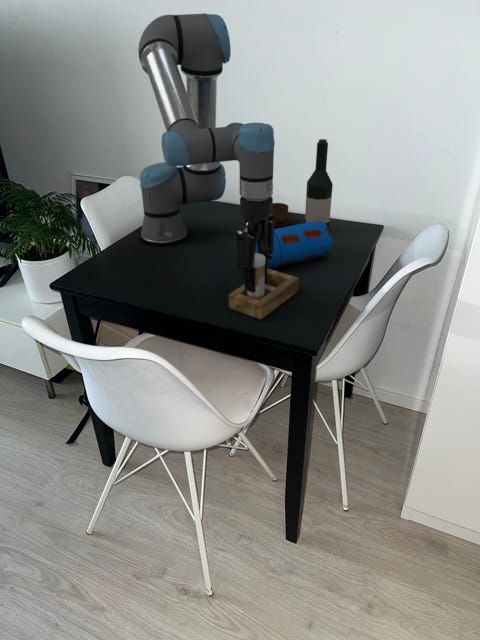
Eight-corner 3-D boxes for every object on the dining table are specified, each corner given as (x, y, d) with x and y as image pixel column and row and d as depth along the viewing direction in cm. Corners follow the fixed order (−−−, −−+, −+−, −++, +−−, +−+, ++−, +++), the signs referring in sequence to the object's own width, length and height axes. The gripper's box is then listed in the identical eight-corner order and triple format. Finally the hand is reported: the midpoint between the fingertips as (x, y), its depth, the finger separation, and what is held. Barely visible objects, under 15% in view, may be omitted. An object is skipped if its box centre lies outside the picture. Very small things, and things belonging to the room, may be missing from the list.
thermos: (336, 245, 148) (260, 262, 139) (321, 261, 157) (249, 278, 148) (322, 213, 150) (246, 228, 141) (308, 231, 160) (236, 246, 151)
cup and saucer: (262, 216, 184) (262, 200, 181) (295, 217, 183) (295, 201, 180) (258, 229, 174) (258, 211, 171) (293, 230, 173) (294, 213, 170)
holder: (228, 308, 130) (228, 294, 128) (267, 281, 142) (267, 268, 140) (261, 320, 125) (261, 306, 123) (298, 290, 137) (299, 277, 135)
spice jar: (243, 304, 130) (242, 257, 123) (254, 297, 133) (254, 250, 126) (257, 310, 128) (257, 262, 121) (268, 303, 131) (269, 255, 124)
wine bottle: (330, 228, 174) (338, 137, 158) (326, 237, 167) (333, 144, 151) (306, 225, 176) (312, 136, 160) (301, 234, 170) (306, 142, 154)
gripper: (247, 210, 108) (248, 305, 120) (290, 189, 120) (287, 277, 132) (219, 204, 111) (222, 296, 124) (264, 183, 123) (263, 269, 136)
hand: (256, 286), depth 128 cm, fingers closed on spice jar, 5 cm apart
